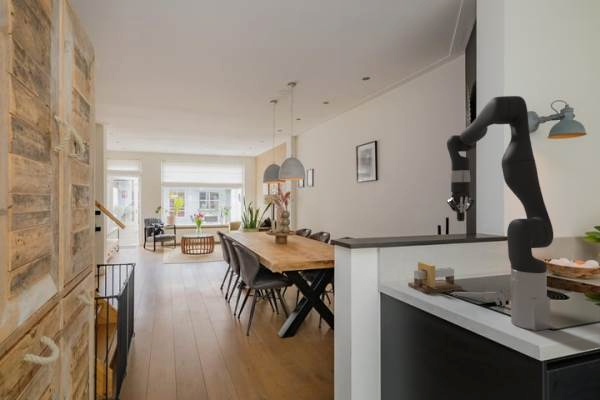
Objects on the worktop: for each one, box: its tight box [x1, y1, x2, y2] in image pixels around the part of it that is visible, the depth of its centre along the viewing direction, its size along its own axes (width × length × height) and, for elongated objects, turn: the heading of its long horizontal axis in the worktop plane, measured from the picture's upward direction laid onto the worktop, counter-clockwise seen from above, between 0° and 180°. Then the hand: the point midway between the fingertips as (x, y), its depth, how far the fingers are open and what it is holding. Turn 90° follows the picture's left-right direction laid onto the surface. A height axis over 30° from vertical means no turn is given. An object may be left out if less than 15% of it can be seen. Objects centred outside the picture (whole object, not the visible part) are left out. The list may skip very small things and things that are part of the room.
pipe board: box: [407, 275, 463, 295], centre depth 146 cm, size 12×18×5 cm, turn 106°
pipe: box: [413, 267, 455, 279], centre depth 145 cm, size 3×18×3 cm, turn 106°
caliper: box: [450, 289, 507, 307], centre depth 129 cm, size 20×1×6 cm, turn 38°
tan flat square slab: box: [417, 261, 436, 287], centre depth 144 cm, size 9×2×9 cm, turn 16°
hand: (460, 221), depth 145 cm, fingers closed
